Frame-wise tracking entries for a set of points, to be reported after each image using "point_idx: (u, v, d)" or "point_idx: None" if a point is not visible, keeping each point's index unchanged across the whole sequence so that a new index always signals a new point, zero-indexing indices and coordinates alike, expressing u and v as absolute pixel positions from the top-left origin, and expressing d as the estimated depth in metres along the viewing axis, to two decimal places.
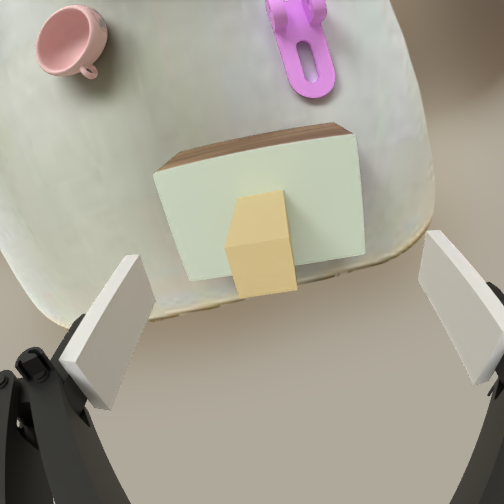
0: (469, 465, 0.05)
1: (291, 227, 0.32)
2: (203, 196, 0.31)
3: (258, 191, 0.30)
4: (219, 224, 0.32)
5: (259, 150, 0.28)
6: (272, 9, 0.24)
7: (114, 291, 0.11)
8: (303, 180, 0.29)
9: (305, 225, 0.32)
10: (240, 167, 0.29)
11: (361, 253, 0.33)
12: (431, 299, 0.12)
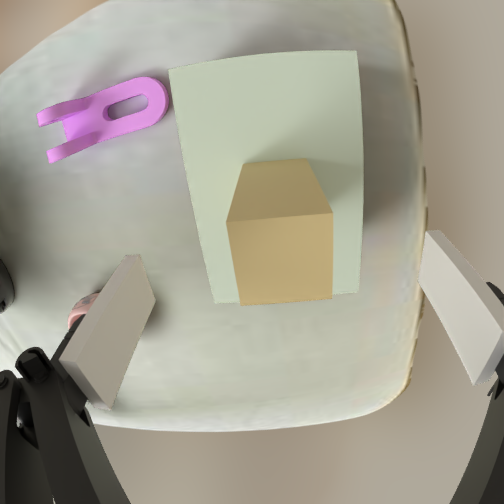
0: (469, 465, 0.05)
1: (300, 156, 0.21)
2: None
3: None
4: None
5: (189, 188, 0.23)
6: (57, 159, 0.26)
7: (114, 291, 0.11)
8: (230, 136, 0.21)
9: (299, 136, 0.21)
10: (210, 212, 0.24)
11: (354, 56, 0.17)
12: (431, 299, 0.12)
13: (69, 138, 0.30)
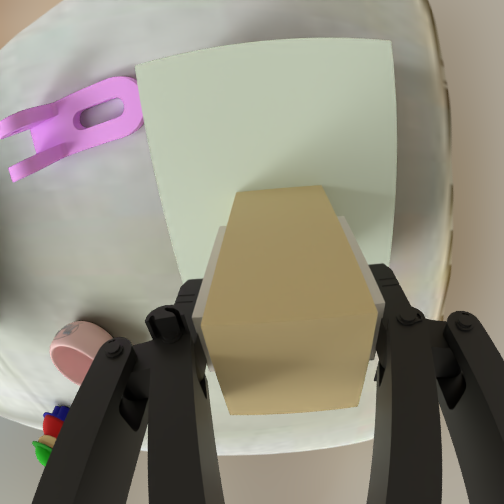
0: (373, 458, 0.07)
1: (314, 182, 0.16)
2: None
3: None
4: None
5: (167, 223, 0.18)
6: (19, 178, 0.20)
7: None
8: (219, 155, 0.15)
9: (313, 155, 0.15)
10: (195, 253, 0.18)
11: (388, 47, 0.12)
12: None
13: (38, 150, 0.24)
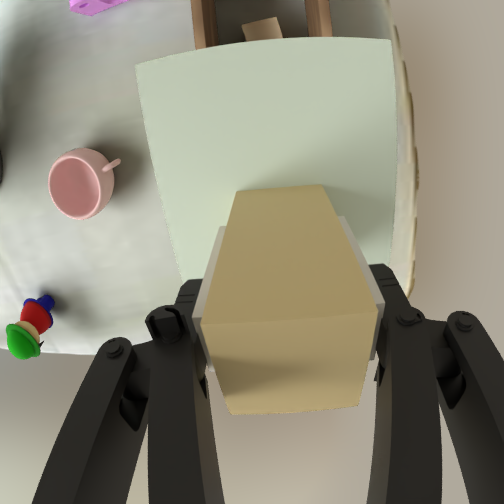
0: (373, 458, 0.07)
1: (314, 181, 0.16)
2: None
3: None
4: None
5: (167, 223, 0.18)
6: (79, 1, 0.23)
7: None
8: (219, 154, 0.15)
9: (313, 154, 0.15)
10: (195, 253, 0.18)
11: (388, 47, 0.12)
12: None
13: None
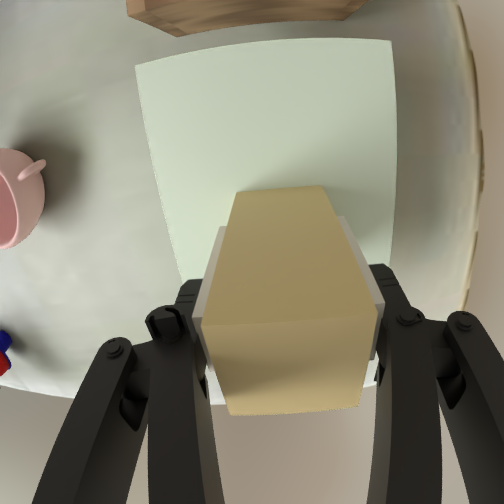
0: (373, 458, 0.07)
1: (314, 182, 0.16)
2: None
3: None
4: None
5: (168, 223, 0.18)
6: None
7: None
8: (219, 155, 0.15)
9: (313, 155, 0.15)
10: (195, 254, 0.18)
11: (388, 48, 0.12)
12: None
13: None
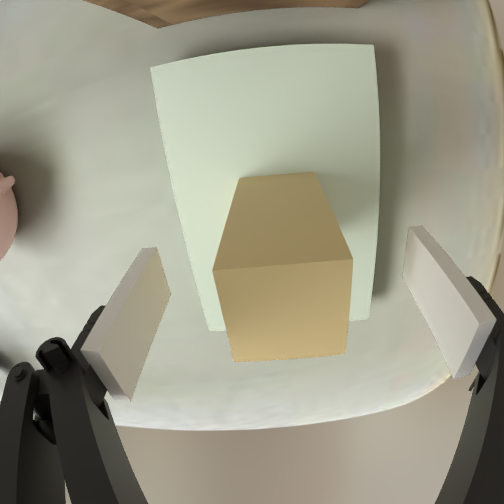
0: (453, 462, 0.06)
1: (307, 169, 0.18)
2: None
3: None
4: None
5: (178, 206, 0.20)
6: None
7: (134, 282, 0.12)
8: (224, 145, 0.18)
9: (306, 145, 0.17)
10: (202, 234, 0.21)
11: (371, 51, 0.14)
12: (414, 294, 0.13)
13: None
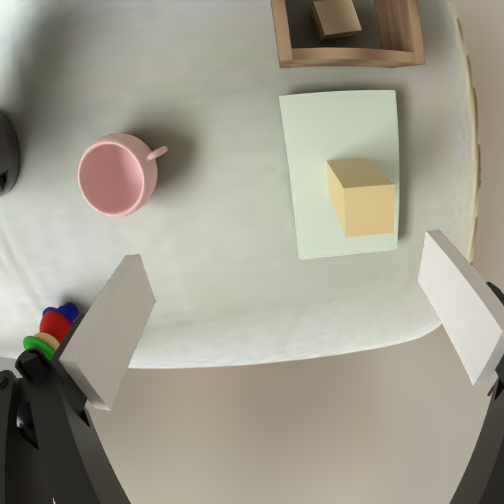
0: (469, 465, 0.05)
1: (361, 156, 0.33)
2: (323, 224, 0.37)
3: (325, 180, 0.34)
4: None
5: (290, 176, 0.35)
6: None
7: (114, 291, 0.11)
8: (319, 142, 0.32)
9: (361, 144, 0.32)
10: (303, 192, 0.35)
11: (393, 93, 0.29)
12: (431, 299, 0.12)
13: None
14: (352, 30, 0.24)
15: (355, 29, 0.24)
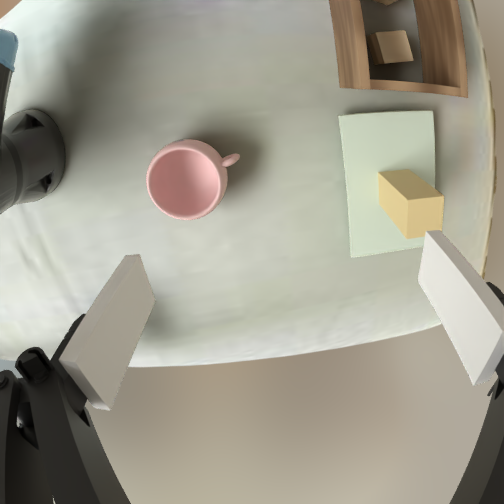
0: (469, 465, 0.05)
1: (406, 168, 0.37)
2: (374, 226, 0.41)
3: (376, 189, 0.38)
4: None
5: (347, 186, 0.39)
6: None
7: (114, 291, 0.11)
8: (372, 156, 0.36)
9: (405, 157, 0.36)
10: (358, 199, 0.39)
11: (432, 114, 0.32)
12: (431, 299, 0.12)
13: None
14: (406, 60, 0.28)
15: (408, 60, 0.28)
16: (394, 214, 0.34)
